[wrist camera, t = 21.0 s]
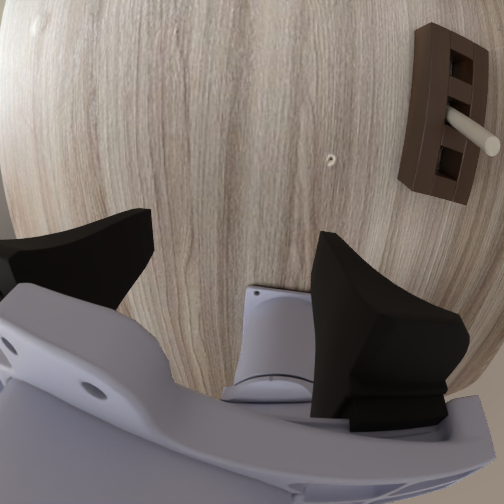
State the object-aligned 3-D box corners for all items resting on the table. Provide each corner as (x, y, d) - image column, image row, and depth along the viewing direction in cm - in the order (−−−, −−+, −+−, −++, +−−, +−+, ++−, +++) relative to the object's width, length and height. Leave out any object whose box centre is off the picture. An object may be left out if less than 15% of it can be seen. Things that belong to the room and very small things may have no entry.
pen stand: (468, 53, 12) (488, 50, 9) (448, 192, 18) (466, 205, 15) (414, 30, 12) (431, 21, 10) (396, 178, 18) (411, 191, 16)
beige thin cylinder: (446, 103, 14) (503, 140, 9) (443, 117, 15) (496, 159, 10) (433, 98, 15) (489, 133, 9) (430, 112, 15) (482, 152, 10)
